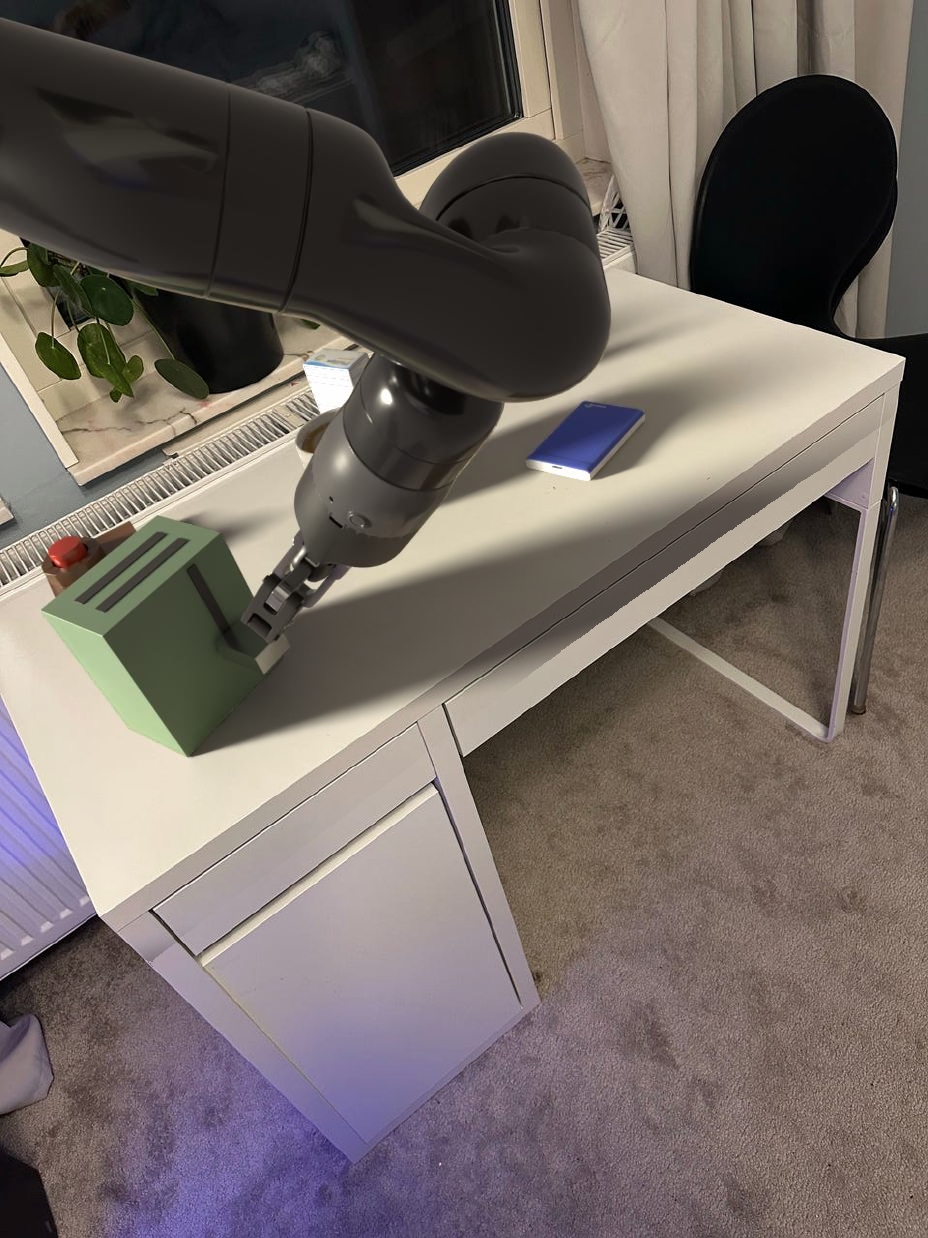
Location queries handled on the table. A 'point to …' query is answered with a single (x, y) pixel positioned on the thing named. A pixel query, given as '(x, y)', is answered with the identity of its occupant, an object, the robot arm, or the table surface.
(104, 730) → the table surface
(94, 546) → the switch block
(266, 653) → the toaster lever
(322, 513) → the robot arm
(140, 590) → the toaster
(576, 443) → the hard drive
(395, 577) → the table surface
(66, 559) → the power button
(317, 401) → the medicine box
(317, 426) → the coffee mug
